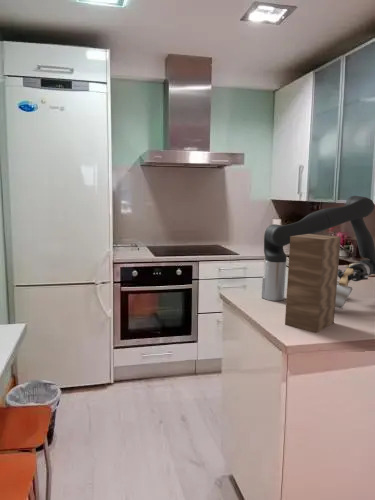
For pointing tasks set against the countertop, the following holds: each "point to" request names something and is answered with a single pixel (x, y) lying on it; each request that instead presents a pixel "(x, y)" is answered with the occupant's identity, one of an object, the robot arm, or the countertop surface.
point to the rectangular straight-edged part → (343, 289)
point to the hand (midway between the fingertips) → (344, 277)
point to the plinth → (312, 281)
